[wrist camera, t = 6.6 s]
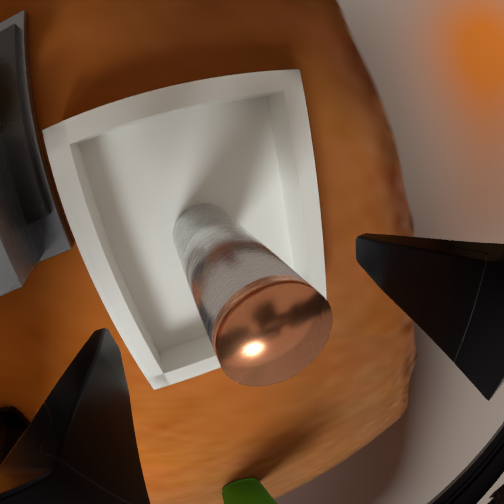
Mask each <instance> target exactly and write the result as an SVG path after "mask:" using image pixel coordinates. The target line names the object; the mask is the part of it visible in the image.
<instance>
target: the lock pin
mask: <svg viewBox="0 0 504 504" xmlns="http://www.w3.org/2000/svg"><path fill="white" fill-rule="evenodd" d="M173 241H174V245H175V248H176V251H177V254H178V257H179V260H180V262H181V265H182V268H183V271H184V274H185V277H186V279H187V282H188V285H189V288H190V290H191V293H192V296H193V298H194V301H195V304H196V306H197V309H198V312H199V314H200V317H201V319H202V322H203V324H204V327H205V329H206V332H207V334H208V337H209V339H210V342H211V344H212V347H213V349H214V352H215V354H216V356H217V359H218V361H219V363H220V366H221V368H222V370H223V371H224V373H225V374H226V375H227V376H228V377H229V378H230V379H232V380H233V381H235V382H237V383H240V384H243V385H247V386H267V385H272V384H276V383H279V382H282V381H284V380H286V379H288V378H290V377H292V376H294V375H296V374H297V373H299V372H300V371H302V370H303V369H305V368H306V367H307V366H308V365H309V364H310V363H311V362H312V361H313V360H314V359H315V358H316V357H317V356H318V355H319V353H320V352H321V350H322V349H323V347H324V346H325V344H326V342H327V340H328V338H329V335H330V332H331V328H332V311H331V307H330V305H329V303H328V301H327V300H326V299H325V297H324V296H323V295H322V294H320V293H319V292H318V291H317V290H316V289H315V288H314V287H312V286H311V285H310V284H309V283H308V282H307V281H305V280H304V279H303V278H302V277H301V276H300V275H299V274H297V273H296V272H295V271H294V270H293V269H292V268H290V267H289V266H288V265H287V264H286V263H285V262H283V261H282V260H281V259H280V258H279V257H278V256H276V255H275V254H274V253H273V252H272V251H271V250H269V249H268V248H267V247H266V246H265V245H264V244H262V243H261V242H260V241H259V240H258V239H257V238H255V237H254V236H253V235H252V234H251V233H249V232H248V231H247V230H246V229H245V228H244V227H242V226H241V225H240V224H239V223H238V222H237V221H235V220H234V219H233V218H232V217H231V216H229V215H228V214H227V213H226V212H225V211H223V210H222V209H221V208H219V207H218V206H216V205H213V204H208V203H201V204H196V205H193V206H191V207H189V208H187V209H186V210H184V211H183V212H182V213H181V214H180V215H179V217H178V218H177V220H176V222H175V224H174V227H173Z"/></svg>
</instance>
